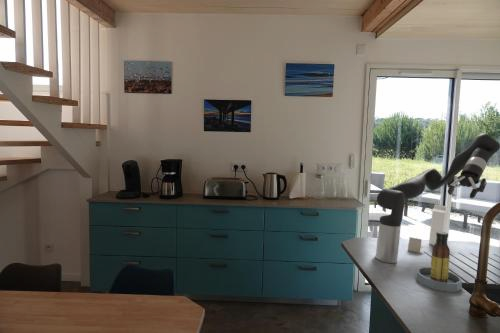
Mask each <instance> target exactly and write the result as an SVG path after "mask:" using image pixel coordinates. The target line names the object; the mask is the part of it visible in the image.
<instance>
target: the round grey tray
mask: <svg viewBox="0 0 500 333" xmlns="http://www.w3.org/2000/svg"><path fill="white" fill-rule="evenodd" d="M430 274H431V266H427V267H426V266H421V267H419V268H417V269H416V275H415V277H416V281H417V282H418V283H419V284H421V285H422V286H425V287H427V288H430V289H432V290H435V291H440V292H446V293H456V292H459V291H460V290H462V289H463V288H462V287H463V280H462V278H461V277H460V276H459V275H457V274H456V273H454V272H452V271H449V272H448V280H447V283H445V282H440V281H435V280H432V279H431V275H430Z"/></svg>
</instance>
